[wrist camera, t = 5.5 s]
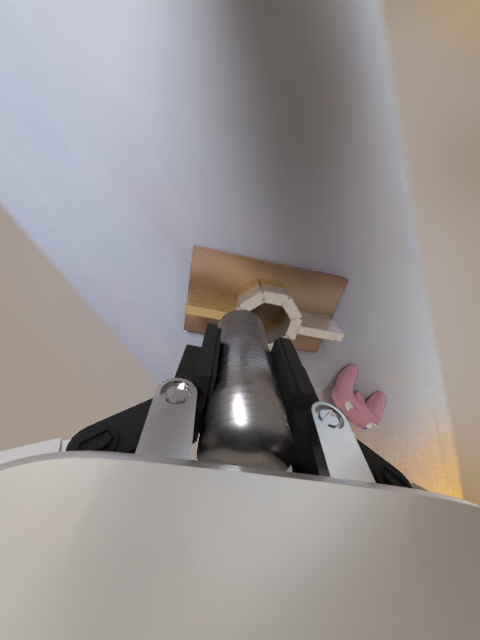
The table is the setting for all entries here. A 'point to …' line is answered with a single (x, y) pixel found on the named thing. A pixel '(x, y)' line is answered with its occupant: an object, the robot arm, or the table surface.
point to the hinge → (272, 293)
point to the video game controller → (357, 400)
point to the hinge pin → (245, 401)
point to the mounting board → (236, 271)
